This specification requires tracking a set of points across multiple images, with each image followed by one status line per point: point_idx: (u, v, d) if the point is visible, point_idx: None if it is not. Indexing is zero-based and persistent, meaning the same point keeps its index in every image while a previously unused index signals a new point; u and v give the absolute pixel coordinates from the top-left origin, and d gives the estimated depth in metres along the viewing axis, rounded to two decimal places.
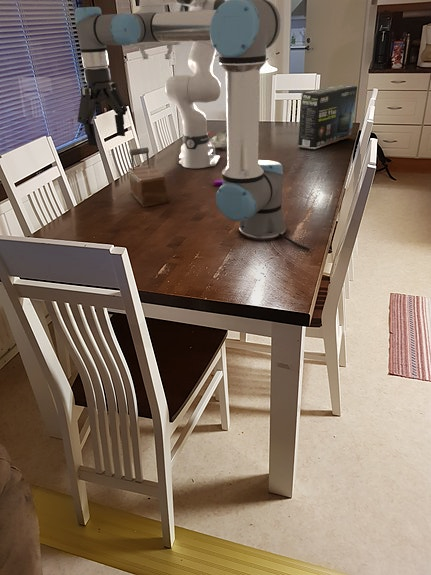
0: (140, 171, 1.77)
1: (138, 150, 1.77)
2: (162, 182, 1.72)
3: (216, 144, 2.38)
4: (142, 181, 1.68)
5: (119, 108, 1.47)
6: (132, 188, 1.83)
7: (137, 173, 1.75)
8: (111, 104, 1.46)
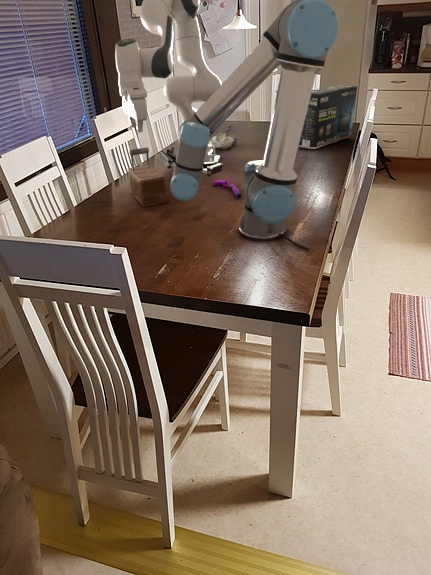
0: (140, 171, 1.77)
1: (138, 150, 1.77)
2: (162, 182, 1.72)
3: (216, 144, 2.38)
4: (142, 181, 1.68)
5: (171, 154, 1.44)
6: (132, 188, 1.83)
7: (137, 173, 1.75)
8: None
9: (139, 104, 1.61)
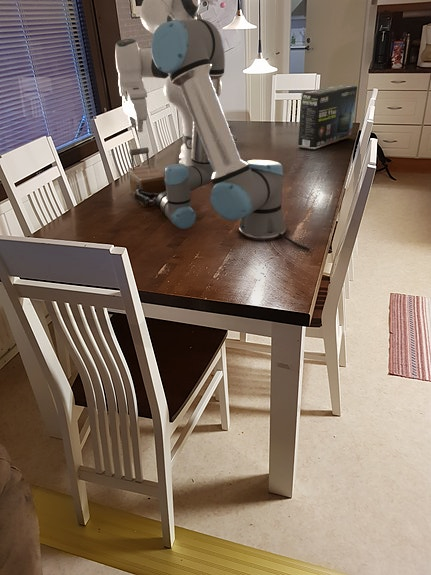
0: (140, 171, 1.77)
1: (138, 150, 1.77)
2: (162, 182, 1.72)
3: None
4: (142, 181, 1.68)
5: (144, 192, 1.66)
6: (132, 188, 1.83)
7: (137, 173, 1.75)
8: None
9: (139, 104, 1.61)
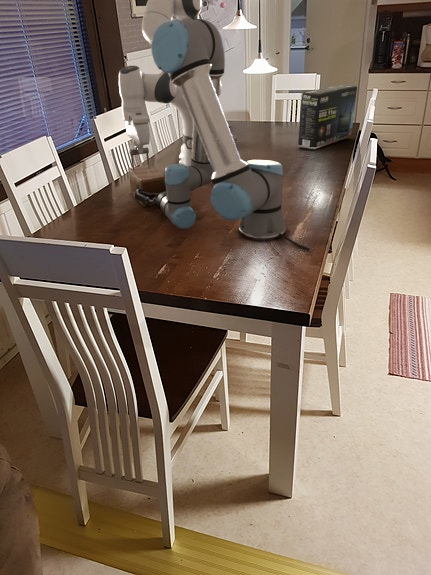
0: (140, 171, 1.77)
1: None
2: (162, 182, 1.72)
3: None
4: (142, 181, 1.68)
5: (144, 192, 1.66)
6: (132, 188, 1.83)
7: (137, 173, 1.75)
8: None
9: (142, 129, 1.65)
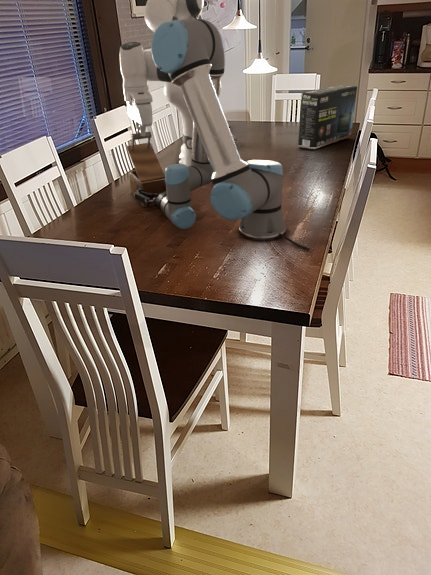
0: (140, 158, 1.72)
1: (141, 136, 1.68)
2: (162, 182, 1.72)
3: None
4: (142, 181, 1.68)
5: (144, 192, 1.66)
6: (132, 188, 1.83)
7: (137, 162, 1.71)
8: None
9: (145, 109, 1.56)
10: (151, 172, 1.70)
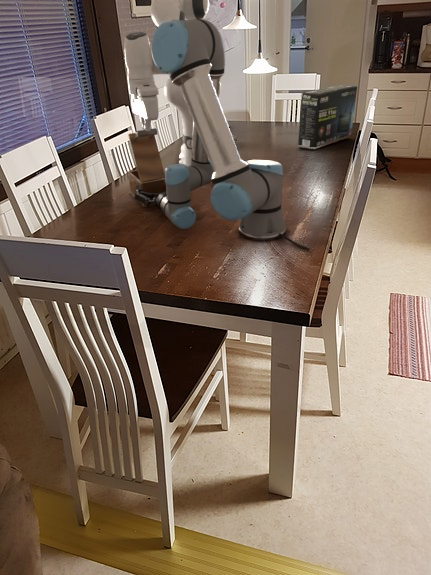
0: (141, 152, 1.68)
1: (146, 134, 1.61)
2: (162, 182, 1.72)
3: None
4: (142, 181, 1.68)
5: (144, 192, 1.65)
6: (132, 188, 1.83)
7: (138, 157, 1.67)
8: None
9: (150, 102, 1.48)
10: (152, 171, 1.69)
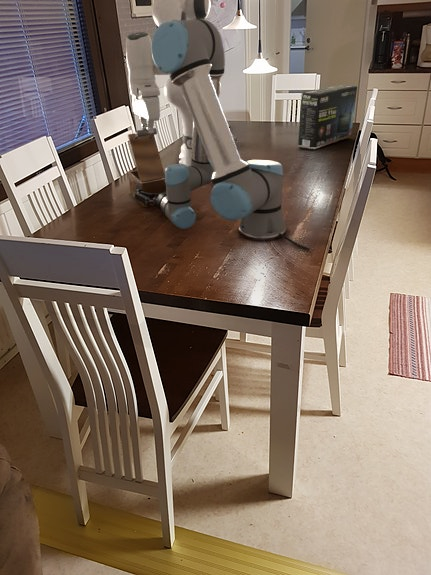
0: (141, 152, 1.68)
1: (146, 134, 1.61)
2: (162, 182, 1.72)
3: None
4: (142, 181, 1.68)
5: (144, 192, 1.65)
6: (131, 188, 1.83)
7: (138, 157, 1.67)
8: None
9: (152, 103, 1.47)
10: (152, 171, 1.69)
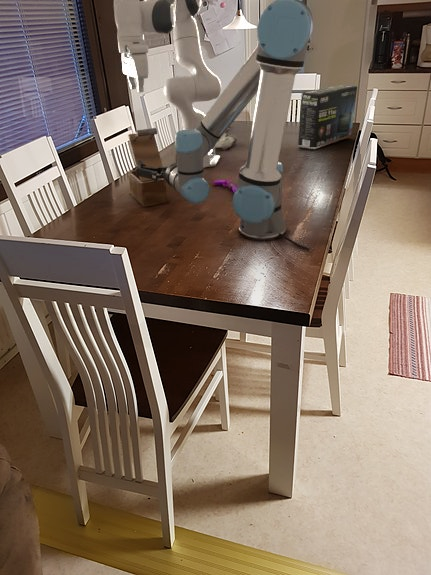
0: (141, 152, 1.68)
1: (146, 134, 1.62)
2: (162, 182, 1.72)
3: (216, 144, 2.38)
4: (142, 181, 1.68)
5: (147, 167, 1.48)
6: (131, 188, 1.83)
7: (138, 157, 1.68)
8: None
9: (140, 60, 1.48)
10: None
